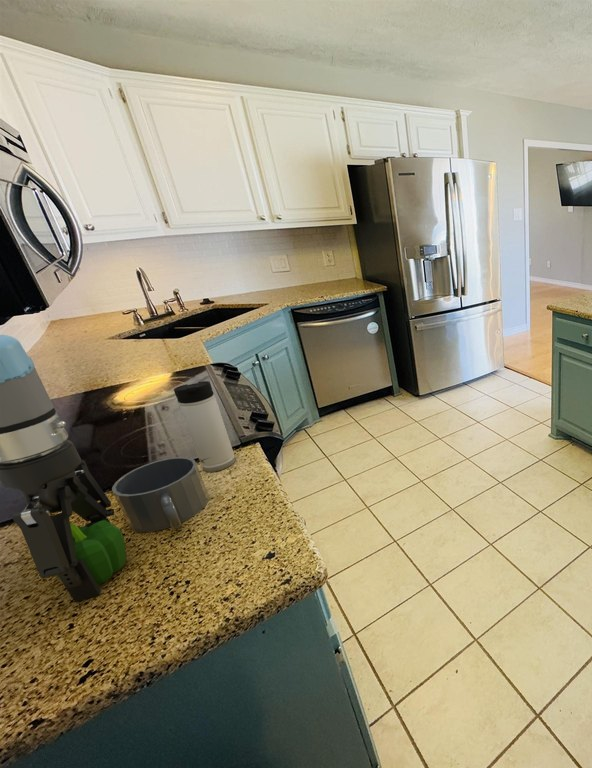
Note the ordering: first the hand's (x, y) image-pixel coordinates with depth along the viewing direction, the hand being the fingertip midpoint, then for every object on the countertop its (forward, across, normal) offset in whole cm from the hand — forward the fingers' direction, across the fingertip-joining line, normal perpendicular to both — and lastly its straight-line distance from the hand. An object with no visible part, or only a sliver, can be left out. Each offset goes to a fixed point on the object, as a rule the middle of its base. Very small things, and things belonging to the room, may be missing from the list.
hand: (101, 573), depth 64 cm
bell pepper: (0, 0, 0) cm, 0 cm away
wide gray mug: (0, +12, -7) cm, 14 cm away
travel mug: (0, +28, -12) cm, 30 cm away
